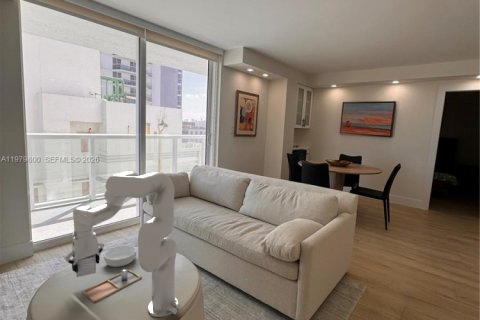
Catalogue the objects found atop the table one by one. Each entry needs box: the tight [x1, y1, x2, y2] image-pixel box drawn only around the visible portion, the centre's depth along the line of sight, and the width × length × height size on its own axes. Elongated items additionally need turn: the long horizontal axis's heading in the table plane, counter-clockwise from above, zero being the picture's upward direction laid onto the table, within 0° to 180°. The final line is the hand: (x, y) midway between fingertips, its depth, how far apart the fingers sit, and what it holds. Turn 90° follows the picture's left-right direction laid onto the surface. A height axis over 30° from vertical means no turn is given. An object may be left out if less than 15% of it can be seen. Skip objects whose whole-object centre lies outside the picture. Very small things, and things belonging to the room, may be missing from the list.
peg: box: [120, 268, 128, 281], centre depth 126 cm, size 3×3×5 cm
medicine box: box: [75, 254, 97, 278], centre depth 120 cm, size 8×4×9 cm, turn 119°
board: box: [82, 269, 143, 304], centre depth 122 cm, size 13×23×2 cm, turn 145°
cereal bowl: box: [103, 245, 137, 268], centre depth 143 cm, size 17×17×7 cm
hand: (86, 267), depth 120 cm, fingers closed on medicine box, 9 cm apart
